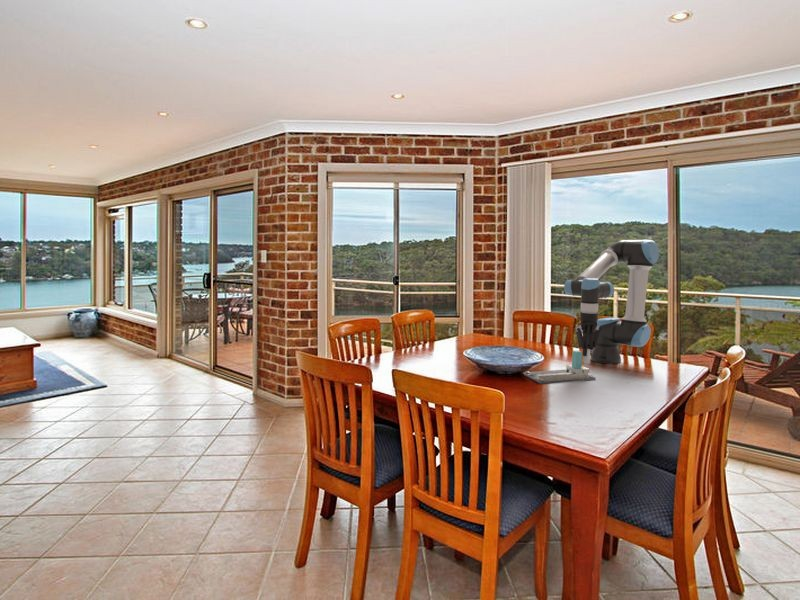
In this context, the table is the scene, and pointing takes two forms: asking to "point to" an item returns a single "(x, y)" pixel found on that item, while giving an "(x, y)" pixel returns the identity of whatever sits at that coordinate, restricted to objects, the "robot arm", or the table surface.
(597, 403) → the table surface
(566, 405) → the table surface
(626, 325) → the robot arm
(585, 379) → the bolt plate
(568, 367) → the sliding leg
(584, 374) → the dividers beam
